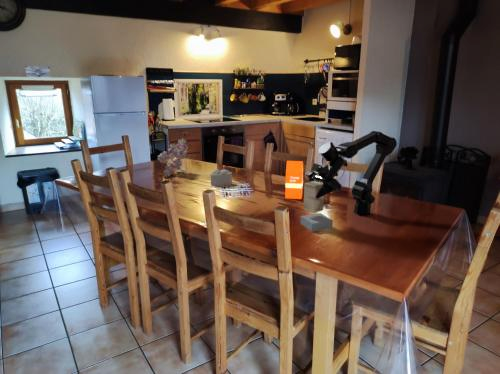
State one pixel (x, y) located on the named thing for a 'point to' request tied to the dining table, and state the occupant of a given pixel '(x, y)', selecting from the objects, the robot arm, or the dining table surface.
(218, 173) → the lumpy-topped squat cylinder
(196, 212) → the dining table surface
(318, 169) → the robot arm
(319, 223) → the slate plinth
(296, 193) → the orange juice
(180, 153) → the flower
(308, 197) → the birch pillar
